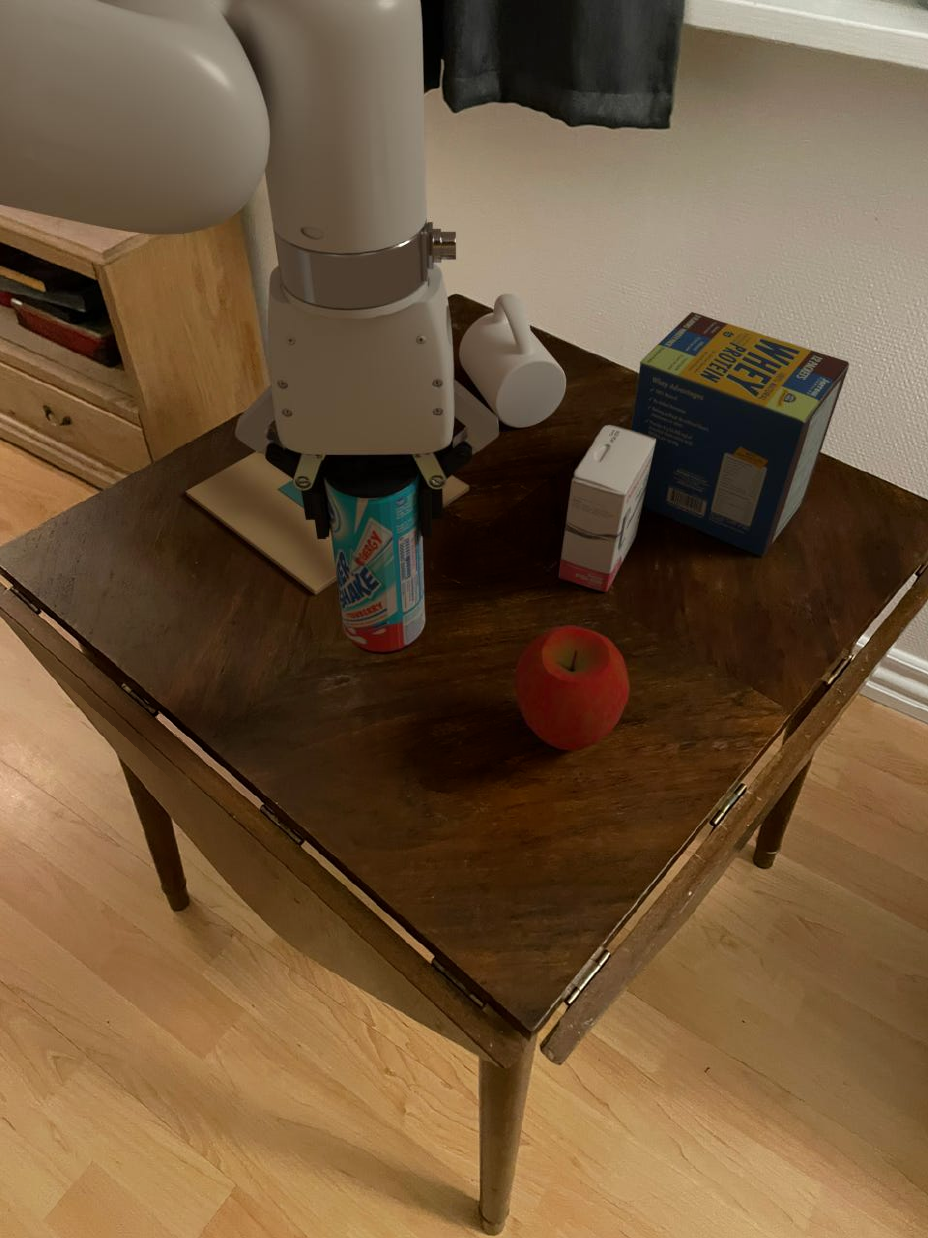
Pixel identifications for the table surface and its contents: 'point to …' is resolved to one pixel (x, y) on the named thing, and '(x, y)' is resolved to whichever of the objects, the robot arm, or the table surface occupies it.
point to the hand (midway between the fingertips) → (375, 522)
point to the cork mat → (278, 517)
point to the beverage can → (377, 548)
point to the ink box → (605, 506)
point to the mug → (512, 365)
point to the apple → (571, 686)
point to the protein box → (733, 428)
